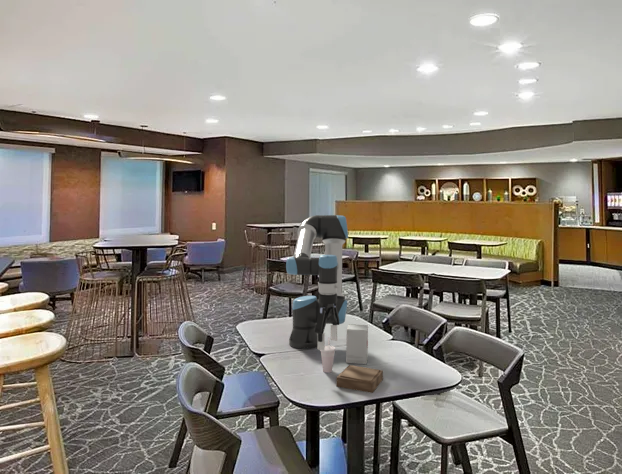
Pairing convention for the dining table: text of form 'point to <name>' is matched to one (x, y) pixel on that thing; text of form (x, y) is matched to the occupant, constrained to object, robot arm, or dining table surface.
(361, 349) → the supplement box
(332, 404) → the dining table surface
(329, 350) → the smoothie
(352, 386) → the walnut tray
